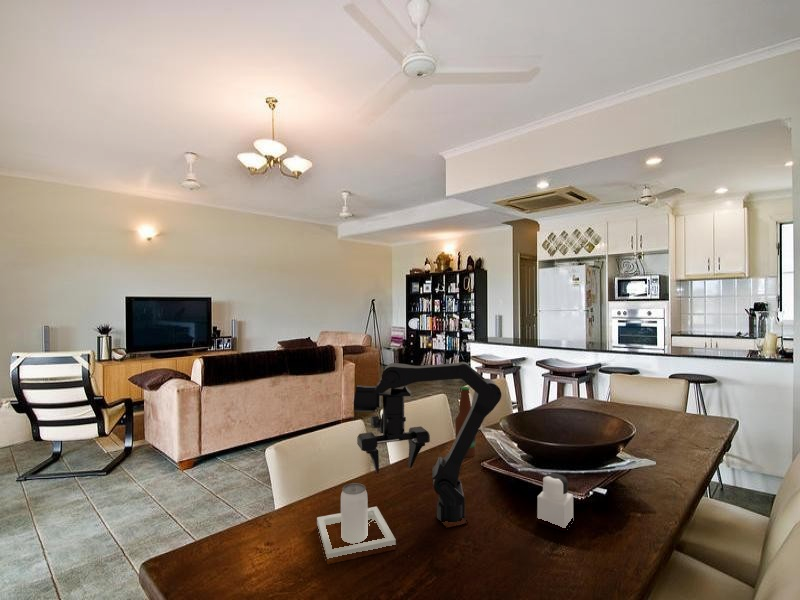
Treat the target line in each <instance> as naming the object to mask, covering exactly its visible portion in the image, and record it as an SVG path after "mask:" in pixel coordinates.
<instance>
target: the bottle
mask: <svg viewBox="0 0 800 600" xmlns="http://www.w3.org/2000/svg"><path fill="white" fill-rule="evenodd" d="M470 388H471V387H470V386H469V387H468V386H461V387H460V398H459V399H460V400H459V409H458V410H459V411H458V414H457V416H456V418H455V438H456V437H457V435H458V433H459V431H460V429H461V427H462V425H463V423H464V421H465V419H466V417H467V415H468V413H469V411H470V409H471V405H472V401H471V397H470V393H471V392H470ZM475 455H476V437H475V438H474V440H473V442H472V444H471V446H470V448H469V450H468V452H467V454H466V456H465V458H473V457H474V456H475Z"/></svg>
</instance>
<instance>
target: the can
mask: <svg viewBox="0 0 800 600" xmlns="http://www.w3.org/2000/svg"><path fill="white" fill-rule="evenodd" d="M366 489H367V488H366V486H365V485H364V484H362V483H360V482H359V483H357V482H352V483H348V484H346V485H344V486H343V487H342V489H341V490H342V491H341V494H340V513H341V538H342V540H343V541H344V542H347V543H350V544H355V543H360V542H362V541H364V540H365V539H366V538H367V536H368V508H369V505H368V504H369V503H368V500H369V499H368V492H367V490H366Z"/></svg>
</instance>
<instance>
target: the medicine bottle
mask: <svg viewBox="0 0 800 600" xmlns="http://www.w3.org/2000/svg"><path fill="white" fill-rule="evenodd" d="M568 482H569V481H568V479H567V478H566V477H565V476H564V475H561V474H558V473H546V474H544V476H543V477H542V491H541V492H540V493H539V494H538V495H537V497H536V502H537V503H536V519H537V518H538V519H542V520H544V521H548V522H550V523H552V524H555V525H558V526H560V527H562V528H566V526H567V525H568V523H569V522H570V521H571V519H572V518H573V519H574V494H572V493H569V491H568V489H569V486H568V485H569V483H568Z"/></svg>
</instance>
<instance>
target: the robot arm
mask: <svg viewBox="0 0 800 600" xmlns="http://www.w3.org/2000/svg"><path fill="white" fill-rule="evenodd" d="M458 379H459V380H462V381H464V383H465V384H466V385H467V386H469V388H471V389H472V390H473V391H474V392H473V396H472V401H471V409H470V411H469V413H468V415H467V417H466V419H465V421H464V423H463V425H462V427H461V429H460V431H459V433H458V435H457V437H456V436H455V440H454V441H453V444H452V445H451V448H450V449H449V452H448V453H447V454H446V456H444V457H443V458H442V456H438V458H437V461H436V463H435V465H434V466H432V485H433V487H432V488H433V490H434V492H435V493H436V494H437V495H438V502H437V503H436V514H437V517H436V518H437V519H438V521H439V520H440V521H441V522H445V521H448V522H457V521H461V520H462V518H465V519H466V497H465V494H464V490H463V484H462V481H461V480H460V479H459V478H460V473H461V472H460V471H461V467H462V464H463V462H464V460H465V458H466V457H465V456H466V454H467V452H468V450H469V448H470V446H471V444H472V442H473V440H474V438H475V439H476V436H477V434H478V432H479V430H480V428H481V426H482V424H483V422H484V420H485V418H486V417H487V416H488V415H489V414H490V413H491V412H492V411H493V410H494V409H495V407H497V405H498V404H499V402H500V401H501V399H502V391H501V389H500V387H499V386H498V385H497V383H496V382H495V381H494V380H493V379H490V378H485V377H483V375H481V374H480V373H479V372H478V371H476V370H475V369H474V368H473V367H471V366H470V364H468V362H465V361H460V362H454V363H452V362H451V363H440V364H427V365H412V364H406V363H398V362H397V363H396V362H393V363H389V364H387V365H386V367H385V368H384V370H383V371H382V373H381V380H380V381H378V382H377V384H376V385H362V384H361V385H360V384H357V385H356V386H355V393H354V400H353V411H354V412H358V413H359V412H367V413H374V412H377V410H378V409H381V407H382V413H381V417H380V416H379V415H376V416H371V417H370V428H371V429H372V430H373V429H377V432H379V433H380V434H382V435H374V433H373V432H372V431H371V432H363V433H359V434H358V435H357V438H356V441H357V446H358V447H359V448H360V450H361V451H364V452H365V453H366V454H369V455H370V458H371V460H372V464H373V467H374V469H375V472H376V474H379V473H380V472H379V471H380V460H379V457H380V456H379V449H377V448H378V444H385V443H394V442H398V441H399V442H402V441H408V462H407V463H408V467H409V469H413V465H414V463H415V462H416V459H417V456H418V455H419V453H420V451H421V450H422V448H423V447H425V446H426V444H428V443H430V442H431V437H430V436H431V435H430V432H429V431H428V430H427V429H425V428H424V427H423V426H413V427H409V429H408V431H406V432H405V422H406V421H407V419H406V416H405V397H410V396H411V395H412V391H411V389H409V388H408V387H407V386H409V385H412V384H415V383H418V382H431V381H433V382H434V381H445V380H447V381H448V380H458ZM440 521H439V522H440ZM441 522H440V523H441Z"/></svg>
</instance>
